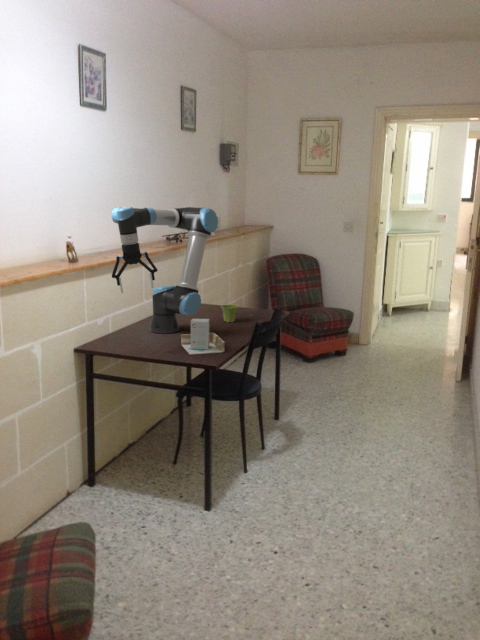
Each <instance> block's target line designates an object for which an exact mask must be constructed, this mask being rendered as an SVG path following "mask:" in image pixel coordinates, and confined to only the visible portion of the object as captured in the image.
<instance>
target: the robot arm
mask: <svg viewBox="0 0 480 640" xmlns="http://www.w3.org/2000/svg"><path fill="white" fill-rule="evenodd" d="M111 220H112V222H113V223H115V224H117V225H118V231H119V232H118V233H119V238H120V242H121V244H122V245H121V250H122V255H116V257H115V260H116V261H115V264H114V266H113V270H112V273H111V278H112V279H116V284H117V286H118V287H120V288H119V289H120V292H121V294H123V293H124V290H123V289H124V288H123V283H122V278H121V275H122V274H123V273H124V272H125V271H124V270H125V269H126V268H127V266H128V265H129V266H130V265H137V264H140V265H141V266H143V267H144V268H145V269H146V270H147V271H148V272H149V279H150V288H151V289H152V294H151V295H152V318H151V320H150V321H151V322H150V324H149V331H150V332H151V333H155V334H174V333H178V332H179V331H180V324H179V322H178V318H177V314H180V315H183V316H193V315H194V314H196V313H197V312H198V311H199V310H200V307H201V304H202V298H201V296H200V294H199V288H198V287H197V285H198V281H199V275H200V272H201V267H202V262H203V258H204V253H205V248H206V244H207V240H208V239H210V238H211V235H212V233H215V231H216V230H217V228H218V227H219V218H218V215H217V213H216V211H215V210H214V209H212V208H209V207H208V208H207V207H193V206H192V207H191V206H187V207H175V208H174V207H173V208H169V209H156V208H155V209H154V208H153V207H149V206H148V207H144V208H136V207H132V206H125V207H121V206H119V207H115V208H114V209H113V210H112V211H111ZM144 226H145V227H146V226H168V228H173V229H174V228H175V229H180V230H186V231H187V233H188V235H189V239H188V242H187V247H186V252H185V256H184V260H183V261H184V262H183V266H182V271H181V275H180V279H179V282H178V283H177V284H175V285H162V286H156V287H154V282H153V281H155V279H156V278H155V273H156V272H158V271H159V270H158V268H157V267H156V265H155V264H154V262H153V261H152V259H151V258H150V257H149V254H148V252H147V251H144V252H141V248H140V243H139V236H138V229H137V228H140V227H144ZM142 257H143V258H145V259H146V260H147V262H148V263H149V264H150V266H151V267H152V268H151V267H149V266H148V264H146V263H145V262H144V261H143V260H142V259H141V258H142ZM122 259H123V261H124V262H123V264H122V266H121V267H120V269H119V270H118V267H119V264H120V262H121V261H122ZM117 270H118V271H117Z"/></svg>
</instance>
